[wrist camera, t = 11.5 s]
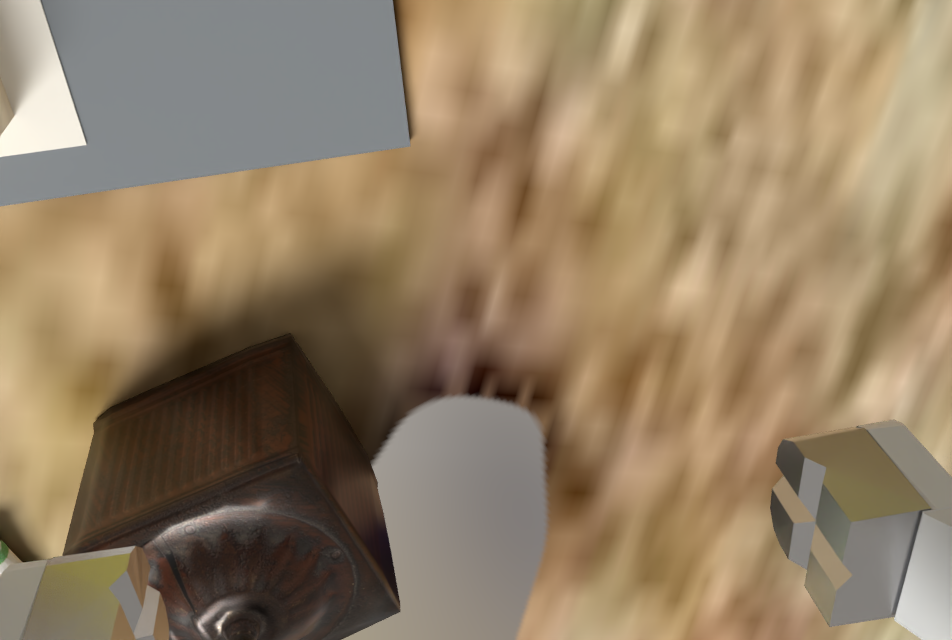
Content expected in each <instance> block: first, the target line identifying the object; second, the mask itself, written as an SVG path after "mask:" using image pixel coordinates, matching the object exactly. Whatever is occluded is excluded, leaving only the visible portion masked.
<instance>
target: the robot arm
mask: <svg viewBox="0 0 952 640" xmlns="http://www.w3.org/2000/svg"><path fill="white" fill-rule="evenodd" d="M776 464H777V466H778V467H779V469H780V470H781V472H782V473H783V475H784V476H783V477H782V478H781V479H780V480H779V481H778V483H777V484H776V485H775V486H774V487H773V488H772V496H771V506H770V509H771V515H772V521H773V527H774V531H775V533H776V536H777V538H778V541H779V544H780V545H781V547H782V549H783V551H784V552H785V554H786V556H787V558H788V559H789V560H791V561H793V562H794V563H796V564H798V565H800V566H801V567H803V568H805V569H806V570H807V573H806V579H805V585H804V586H805V588H806V589H807V591H808V593H809V594H810V596H811V598H812V599H813V601H814V602H815V604H816V606H817V607H818V609H819V611H820V612H821V614H822V616H823V617H824V619H825V621H826V622H827V624H828V625H829V627H832V626H839V625H845V624H851V623H858V622H864V621H871V620H877V619H883V618H890V617H895V618H894V620H895V621H896V622H897V623H899V624H900V625H902V626H903V627H905V628H906V629H907V630H909V631H910V632H912V633H913V634H915V635H916V636H917V637H919V638H920V639H922V640H952V477H951V476H950V475H949V474H948V473H947V472H946V470H945V469H944V468H943V467H942V466H941V465H940V464H939V463H938V462H937V461H936V459H935V458H934V457H933V456H932V455H931V454H930V453H929V452H928V451H927V449H926V448H925V447H924V446H923V445H922V444H921V443H920V442H919V441H918V440H917V438H916V437H915V436H914V435H913V434H912V433H911V432H910V431H909V430H908V429H907V427H906V426H905V425H904V424H903V423H900V422H898V421H896V420H888V421H883V422H877V423H872V424H866V425H860V426H857V427H851V428H845V429H839V430H834V431H828V432H822V433H816V434H810V435H805V436H799V437H793V438H787V439H783V440H782V442H781V444H780V446H779V447H778V452H777V458H776ZM149 572H150V565H149V563H148V560H147V558H146V556H145V553H144V551H143V549H142V548H140V547H137V546H131V547H124V548H117V549H110V550H102V551H95V552H88V553H81V554H74V555H67V556H60V557H53V558H52V559H46V560H38V561H31V562H23V563H16V564H10V565H9V566H8V567H7V568H6V569H5V570H4V571H3V572H2V574H1V575H0V640H169V623H168V618H167V613H166V608H165V605H164V602H163V599H162V596H161V594H160V592H159V591H157V590H155V589H154V588H152V587H150V586H149V585H147V583H148V577H149Z"/></svg>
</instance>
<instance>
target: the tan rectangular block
mask: <svg viewBox="0 0 952 640" xmlns="http://www.w3.org/2000/svg"><path fill="white" fill-rule="evenodd" d="M13 117H14V113H13V110H12V108H11V105H10V102H9V99H8V97H7V94H6V91H5V88H4V85H3V83H2V80H1V77H0V136H1V134H2V133H3V132H4V130H5V129H6V127H7V126H8V125H9V123H10V122H11V120H12V119H13Z"/></svg>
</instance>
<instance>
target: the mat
mask: <svg viewBox="0 0 952 640" xmlns="http://www.w3.org/2000/svg"><path fill="white" fill-rule="evenodd" d="M0 77H1V80H2V83H3V85H4V88H5V91H6V94H7V97H8V99H9V102H10V105H11V108H12V110H13V113H14V117H13V119H12V120H11V122H10V123H9V125H8V126H7V127H6V129H5V130H4V132H3V133H2V134H1V136H0V206H5V205H12V204H19V203H26V202H33V201H40V200H46V199H53V198H60V197H67V196H74V195H81V194H88V193H94V192H101V191H108V190H115V189H122V188H129V187H135V186H142V185H149V184H156V183H163V182H170V181H177V180H183V179H190V178H197V177H204V176H211V175H218V174H225V173H231V172H238V171H245V170H252V169H259V168H266V167H273V166H279V165H286V164H293V163H300V162H307V161H314V160H320V159H327V158H334V157H341V156H348V155H355V154H362V153H368V152H375V151H382V150H389V149H396V148H403V147H410V139H409V131H408V122H407V114H406V106H405V98H404V89H403V81H402V73H401V65H400V56H399V48H398V40H397V32H396V24H395V15H394V7H393V0H0Z"/></svg>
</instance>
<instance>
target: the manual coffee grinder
mask: <svg viewBox="0 0 952 640" xmlns="http://www.w3.org/2000/svg"><path fill="white" fill-rule="evenodd" d="M93 427H94V435H93V439H92V442H91V446H90V450H89V454H88V458H87V462H86V465H85V469H84V473H83V477H82V481H81V484H80V488H79V492H78V496H77V500H76V504H75V508H74V512H73V516H72V520H71V524H70V528H69V532H68V536H67V540H66V544H65V548H64V552H63V556H67V555H74V554H81V553H88V552H95V551H102V550H110V549H117V548H124V547H131V546H137V547H140V548H142V549H143V551H144V553H145V556H146V558H147V560H148V563H149V565H150V572H149V577H148V583H147V585H149V586H150V587H152V588H154V589H155V590H157V591H159V592H160V594H161V596H162V599H163V602H164V605H165V608H166V613H167V618H168V623H169V640H341V639H343V638H346V637H348V636H350V635H352V634H354V633H356V632H358V631H360V630H363V629H365V628H367V627H369V626H371V625H373V624H375V623H377V622H379V621H382V620H384V619H386V618H388V617H390V616H392V615H394V614H396V613H398V612H400V600H399V595H398V588H397V583H396V577H395V572H394V566H393V560H392V554H391V549H390V543H389V538H388V533H387V528H386V524H385V518H384V513H383V509H382V505H381V501H380V497H379V493H378V489H377V487H378V482H377V479H376V477H375V474H374V471H373V469H372V466H371V464H370V461H369V458H368V456H367V453H366V452H365V450H364V448H363V447H362V445H361V443H360V441H359V440H358V438H357V436H356V434H355V433H354V431H353V429H352V427H351V426H350V424H349V422H348V421H347V419H346V417H345V416H344V414H343V413H342V411H341V409H340V408H339V406H338V404H337V403H336V401H335V399H334V398H333V396H332V394H331V393H330V391H329V390H328V388H327V387H326V385H325V384H324V383H323V381H322V380H321V378H320V377H319V375H318V374H317V372H316V371H315V369H314V368H313V366H312V365H311V363H310V362H309V360H308V359H307V357H306V356H305V354H304V353H303V351H302V350H301V348H300V347H299V345H298V344H297V342H296V341H295V339H294V338H293V336H292V335H291V334H288V335H285V336H282V337H279V338H276V339H273V340H270V341H267V342H264V343H261V344H258V345H255V346H252V347H249V348H247V349H245V350H242V351H240V352H238V353H235V354H233V355H231V356H228V357H226V358H224V359H221V360H219V361H217V362H214V363H212V364H210V365H207V366H205V367H203V368H200V369H198V370H196V371H193V372H191V373H189V374H186V375H184V376H182V377H179V378H177V379H175V380H172V381H170V382H168V383H165V384H163V385H161V386H158V387H156V388H154V389H151V390H149V391H147V392H144V393H142V394H140V395H138V396H136V397H133V398H131V399H129V400H127V401H124V402H122V403H120V404H118V405H115V406H113V407H111V408H110V409H109V410H107V411H106V412H105V413H104V414H103V415H102V416H101V417H100V418H98V419H97V420H96V421H95V422H94V423H93Z"/></svg>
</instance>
